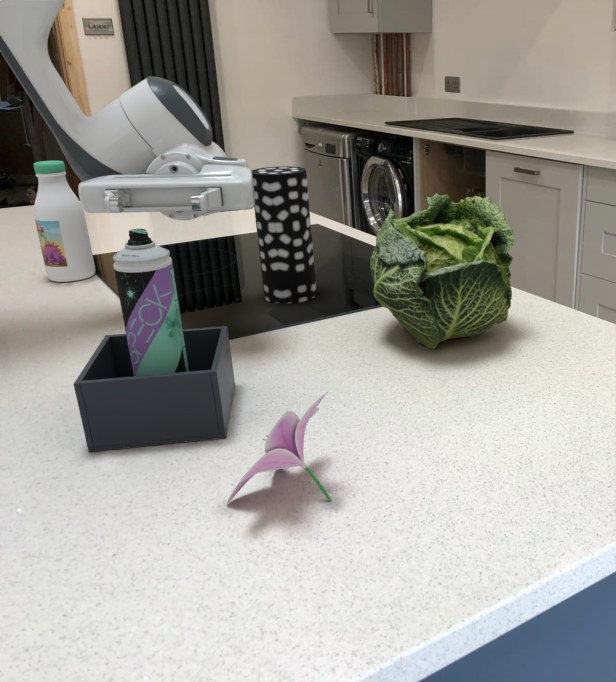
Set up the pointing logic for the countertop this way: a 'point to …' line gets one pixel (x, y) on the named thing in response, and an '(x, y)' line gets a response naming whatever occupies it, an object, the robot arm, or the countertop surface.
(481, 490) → the countertop surface
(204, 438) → the bin
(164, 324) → the spray can
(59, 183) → the milk bottle
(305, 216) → the spotted tube
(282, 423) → the lily
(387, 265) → the vegetable
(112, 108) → the robot arm
